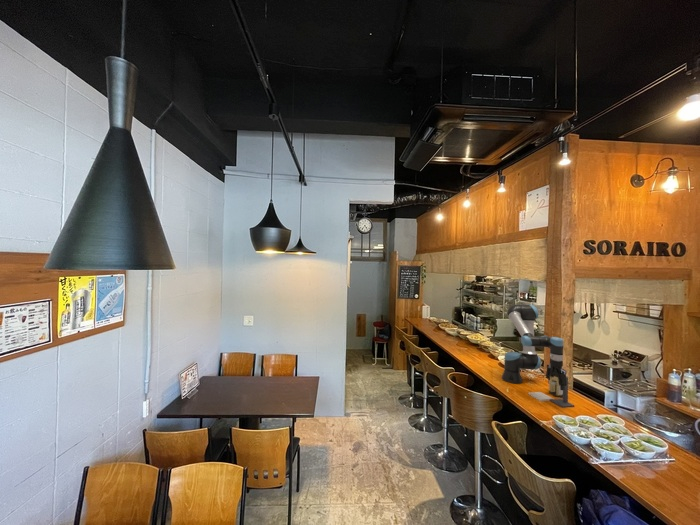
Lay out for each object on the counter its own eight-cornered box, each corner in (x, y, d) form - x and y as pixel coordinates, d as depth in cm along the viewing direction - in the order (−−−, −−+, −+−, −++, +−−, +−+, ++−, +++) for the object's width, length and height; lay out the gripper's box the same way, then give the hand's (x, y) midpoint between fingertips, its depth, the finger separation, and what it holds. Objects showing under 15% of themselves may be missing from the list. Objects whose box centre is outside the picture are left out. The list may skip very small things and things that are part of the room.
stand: (546, 401, 207) (546, 375, 207) (561, 399, 209) (561, 374, 209) (558, 408, 197) (558, 380, 197) (574, 406, 199) (574, 379, 199)
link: (549, 391, 206) (549, 375, 206) (553, 390, 206) (553, 375, 206) (558, 395, 199) (558, 379, 199) (562, 395, 199) (562, 379, 199)
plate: (528, 394, 217) (528, 392, 217) (540, 393, 219) (540, 391, 219) (540, 401, 206) (540, 399, 206) (553, 400, 208) (553, 398, 208)
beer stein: (570, 399, 210) (569, 371, 212) (553, 397, 213) (553, 370, 214) (559, 391, 225) (558, 365, 227) (544, 389, 228) (543, 364, 229)
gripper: (540, 355, 211) (539, 385, 212) (564, 364, 192) (564, 398, 192) (548, 354, 213) (548, 385, 213) (574, 364, 193) (573, 397, 193)
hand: (555, 391), depth 202 cm, fingers closed on link, 7 cm apart
